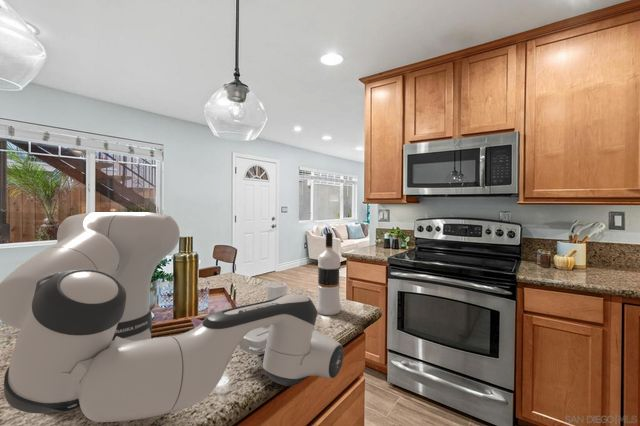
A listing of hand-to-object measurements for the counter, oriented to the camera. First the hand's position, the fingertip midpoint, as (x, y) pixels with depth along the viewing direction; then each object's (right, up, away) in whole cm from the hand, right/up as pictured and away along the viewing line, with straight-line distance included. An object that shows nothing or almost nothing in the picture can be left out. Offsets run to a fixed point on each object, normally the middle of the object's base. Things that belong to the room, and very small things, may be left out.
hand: (259, 324), depth 89 cm
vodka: (+21, -5, +27) cm, 35 cm away
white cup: (+1, -5, +28) cm, 29 cm away
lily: (-14, -6, -2) cm, 16 cm away
